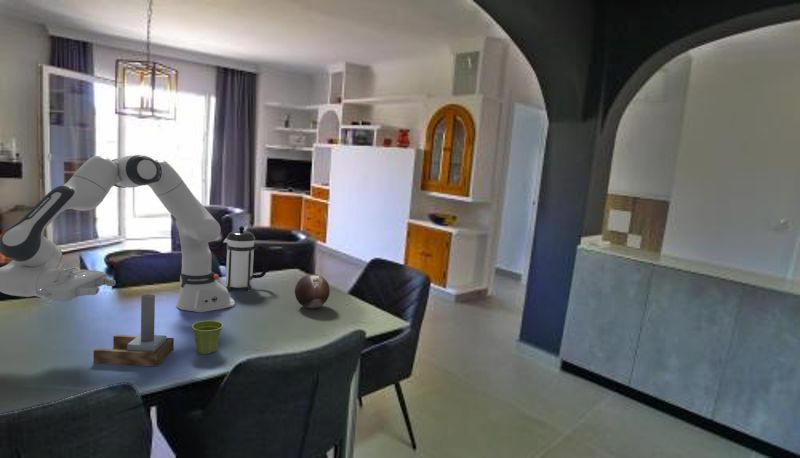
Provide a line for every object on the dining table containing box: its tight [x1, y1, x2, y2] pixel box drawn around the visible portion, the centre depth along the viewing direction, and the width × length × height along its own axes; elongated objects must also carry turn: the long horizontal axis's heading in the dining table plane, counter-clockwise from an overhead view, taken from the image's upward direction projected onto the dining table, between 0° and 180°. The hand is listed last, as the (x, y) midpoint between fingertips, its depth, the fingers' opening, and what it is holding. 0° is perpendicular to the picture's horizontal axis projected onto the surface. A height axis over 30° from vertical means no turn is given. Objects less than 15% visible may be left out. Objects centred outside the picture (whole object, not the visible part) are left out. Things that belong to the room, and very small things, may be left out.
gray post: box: [127, 294, 167, 352], centre depth 140 cm, size 8×8×19 cm
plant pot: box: [191, 320, 224, 355], centre depth 149 cm, size 9×9×9 cm
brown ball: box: [294, 273, 331, 309], centre depth 200 cm, size 15×15×15 cm
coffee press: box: [223, 225, 269, 291], centre depth 218 cm, size 17×16×30 cm
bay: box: [93, 334, 175, 367], centre depth 141 cm, size 18×12×4 cm, turn 95°
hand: (105, 287), depth 137 cm, fingers open, 8 cm apart
